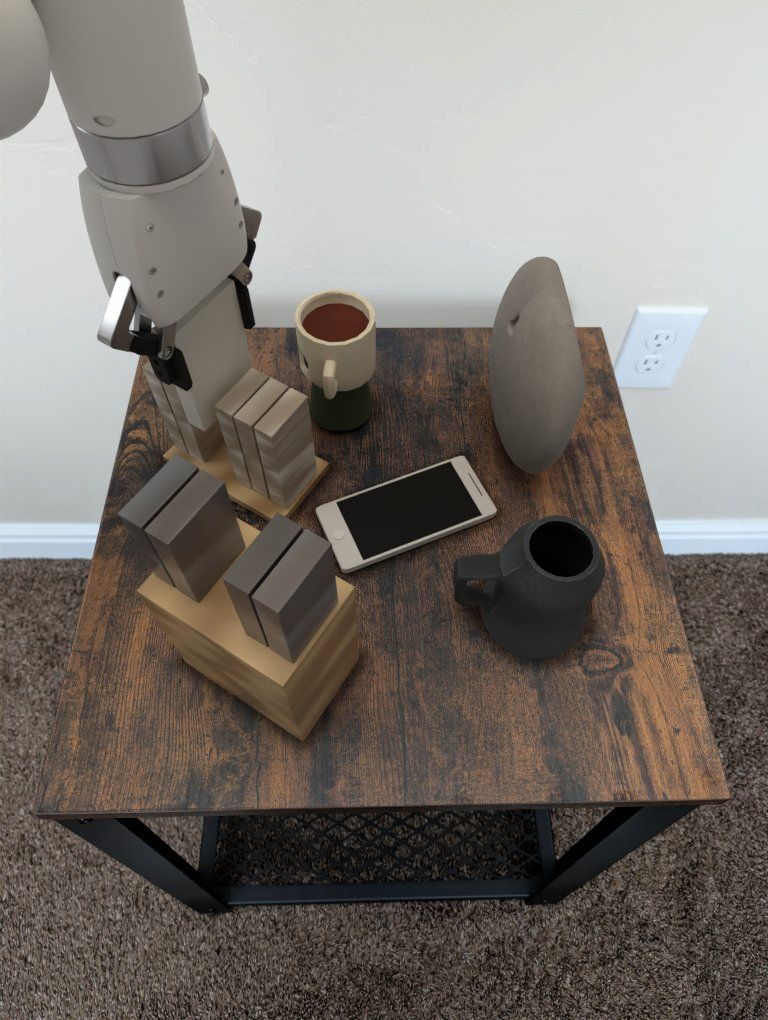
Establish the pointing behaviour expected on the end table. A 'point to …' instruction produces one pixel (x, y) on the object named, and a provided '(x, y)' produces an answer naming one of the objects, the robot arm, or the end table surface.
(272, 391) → the grey-brown wooden block stand
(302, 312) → the character mug
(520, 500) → the end table surface
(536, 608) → the mug
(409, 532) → the smartphone
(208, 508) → the wooden stand
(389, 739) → the end table surface
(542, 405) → the grey oval stone
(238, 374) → the grey flat block
